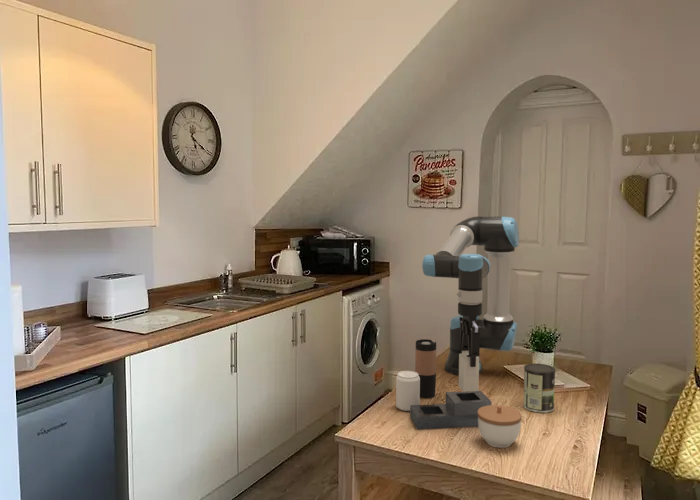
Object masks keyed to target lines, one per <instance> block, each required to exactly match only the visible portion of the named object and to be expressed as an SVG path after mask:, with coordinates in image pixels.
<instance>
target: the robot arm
mask: <svg viewBox="0 0 700 500" xmlns="http://www.w3.org/2000/svg"><path fill="white" fill-rule="evenodd" d="M517 223H518V222H517V220H516V219H515V218H514V217H511V216H476V215H475V216H472V217H471V216H470V217H468V218H465V219H464V220H461V221H460V222H458V223H457V224H456V225H455V226H453V228H452V229H451V230H450V233H449V237H448V238H447V239H446V241H444V243H443V245H442V246H441V247H440V248H439V250H438V251H437V252H436V253H435V254H426V255H425V256H424V257H423V259H422V267H421V268H422V273H423V275H424V276H427V277H432V278H446V279H447V278H448V279H458V281H457V283H458V284H457V285H458V287H457V288H458V291H457V293H456V296H458V299H457V300H458V303H457V313H458V315H457V316H456V315H455V316H453V317H452V318H451V319H450V323H449V324H450V325H449V353H448V356H447V357H446V358H447V359H446V361H445V365H444V367H445V368H444V369H445V370H444V371H446V372H447V373H449V374H452V375H456V376H459V354H465V353H469V355H467V357H468V360H467V376H468V377H469V376H476V359H477V356H478V357H479V363H480V364H481V370H479V375H480V374H481V373H482V372H483V365H482V361H481V358H480V349H485V350H493V351H494V350H495V351H500V352H501V351H503V352H505V351H506V352H510V351H512V350H513V348H514V346H515V342H516V337H517V332H518V322H515V321H514V317H513V316H512V314H511V313H510V300H511V299H510V297H511V295H510V294H511V293H510V292H511V255H512V254H513V253H514V252H515V248H517V247H519V245H520V244H519V243H520V240H519V239H520V234H519V233H520V232H519V228H518V227H519V226H518V224H517ZM470 246H481V247H482V246H483V251H484V252H485V254H487V258H486V257H485V256H483V255H482V254H479V253H464V251H466V249H467V248H469V247H470ZM486 277H487V308H486V309H487V312H486V313H485V314H484V315H483V319H480V316H481V315H482V313H483V304H482V302H483V292H484V291H483V281H484V280H483V279H485V278H486Z"/></svg>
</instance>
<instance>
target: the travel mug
mask: <svg viewBox="0 0 700 500" xmlns="http://www.w3.org/2000/svg"><path fill="white" fill-rule="evenodd" d="M414 356H415V358H414V360H415V362H414V372H417V373H418V374H419V375H418V376H419V377H420V399H432V398H435V396H436V386H437V385H436V383H437V341H435V342H434V341H433V340H431V339H423V338H422V339H417V340H416V341H415V355H414Z"/></svg>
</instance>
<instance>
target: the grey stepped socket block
mask: <svg viewBox="0 0 700 500" xmlns="http://www.w3.org/2000/svg"><path fill="white" fill-rule="evenodd" d="M488 405H492V400H491V399H490V398H488V397H487V395H486V394H484V392H483V391H482V390H479V391H469V392H463V391H462V390H461V391H445V403H433V404H432V403H431V404H420V405H410V411H409V417H410V419H411V421H412V423H413V425H414V427H415V428H416V430H419V431H421V430H436V429H438V430H439V429H455V428H456V429H457V428H472V427H473V428H475V427H478V415H477V412H478V409H479V408H481V407H484V406H488ZM478 428H479V427H478Z"/></svg>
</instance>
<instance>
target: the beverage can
mask: <svg viewBox="0 0 700 500" xmlns="http://www.w3.org/2000/svg"><path fill="white" fill-rule="evenodd" d="M418 375H419V374H418V373H417V372H415V370H414V371H413V370H402V371H399V372H397V376H396V378H395V379H396V381H395V382H396V385H395V386H396V387H395V389H396V390H395V391H396V392H395V398H396V399H395V407H396V408H397V409H399V410H401V411H403V410H404V411H403V412H410V405H421V401H420V400H421V398H420V377H419V376H418Z"/></svg>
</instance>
